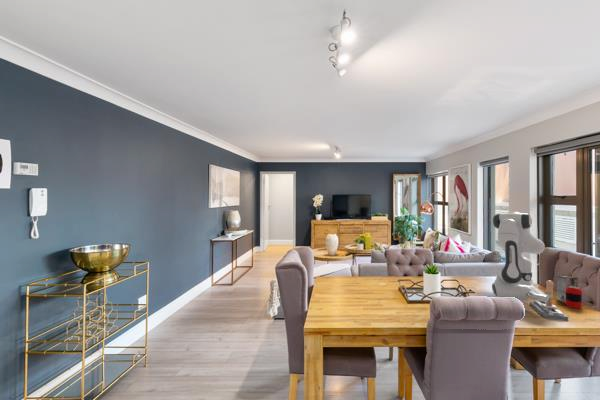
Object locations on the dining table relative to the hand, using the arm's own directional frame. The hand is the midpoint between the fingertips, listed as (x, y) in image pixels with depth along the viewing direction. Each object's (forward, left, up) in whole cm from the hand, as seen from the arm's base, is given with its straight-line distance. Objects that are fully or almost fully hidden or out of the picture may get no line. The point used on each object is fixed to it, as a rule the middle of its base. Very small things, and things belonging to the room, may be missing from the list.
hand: (551, 294), depth 183 cm
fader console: (-2, 0, -11) cm, 11 cm away
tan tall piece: (0, -1, -9) cm, 9 cm away
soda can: (-12, +25, -11) cm, 30 cm away
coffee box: (-22, +30, -11) cm, 39 cm away
